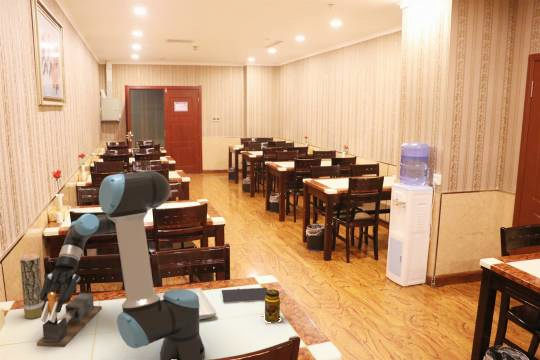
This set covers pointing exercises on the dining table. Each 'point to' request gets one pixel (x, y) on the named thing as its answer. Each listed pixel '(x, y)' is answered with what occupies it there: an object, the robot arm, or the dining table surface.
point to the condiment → (272, 306)
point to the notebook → (244, 295)
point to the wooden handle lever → (67, 315)
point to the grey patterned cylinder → (31, 285)
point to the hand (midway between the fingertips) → (47, 320)
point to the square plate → (205, 306)
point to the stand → (67, 331)
